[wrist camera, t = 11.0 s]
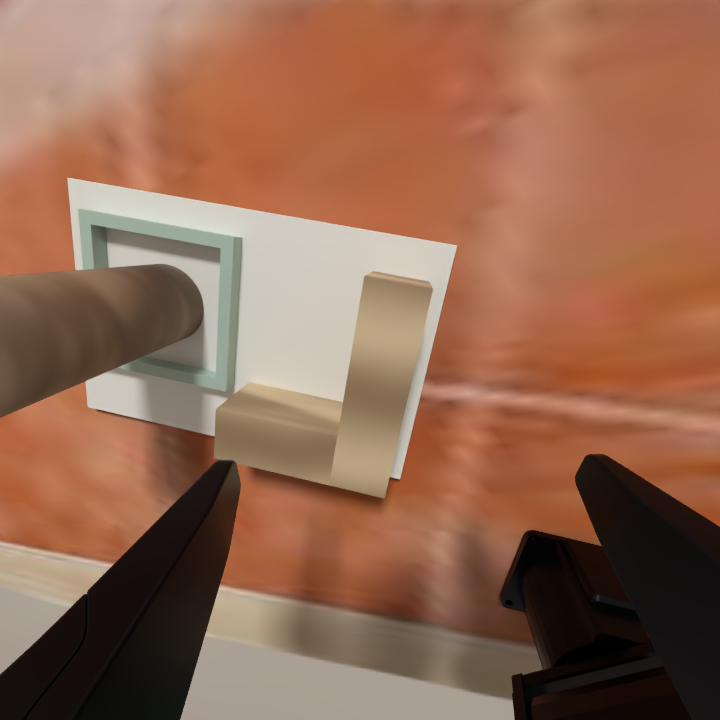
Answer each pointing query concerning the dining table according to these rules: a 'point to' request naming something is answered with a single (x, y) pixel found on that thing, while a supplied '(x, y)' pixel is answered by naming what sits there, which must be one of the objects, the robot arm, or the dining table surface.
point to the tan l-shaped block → (334, 418)
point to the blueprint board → (246, 301)
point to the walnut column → (87, 325)
